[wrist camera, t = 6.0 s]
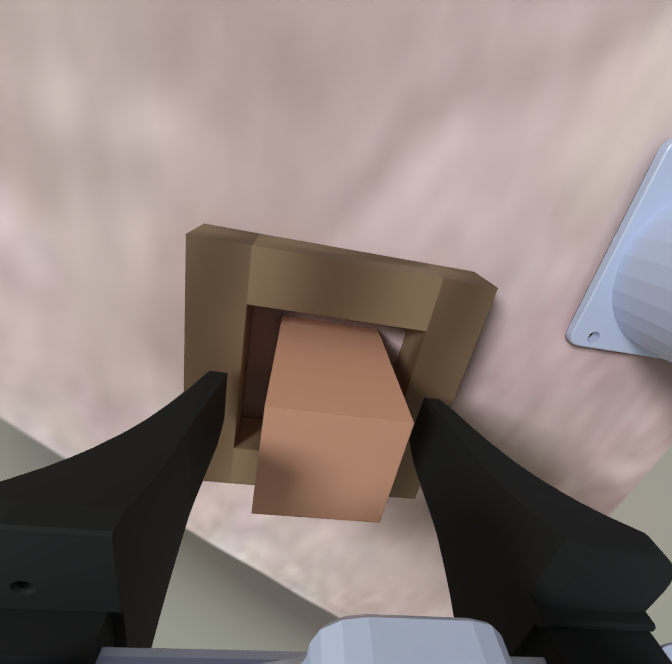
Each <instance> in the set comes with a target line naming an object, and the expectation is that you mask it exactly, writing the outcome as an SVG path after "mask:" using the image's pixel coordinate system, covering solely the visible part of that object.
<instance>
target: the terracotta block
mask: <svg viewBox="0 0 672 664" xmlns="http://www.w3.org/2000/svg"><path fill="white" fill-rule="evenodd" d="M413 425H414V422H413V419H412V417H411V414H410V412H409V409H408V406H407V404H406V401H405V399H404V396H403V393H402V391H401V388H400V386H399V383H398V381H397V378H396V375H395V373H394V370H393V368H392V365H391V363H390V360H389V357H388V355H387V352H386V350H385V347H384V344H383V342H382V339H381V337H380V334H379V332H378V329H372V328H366V327H359V326H352V325H345V324H338V323H331V322H324V321H317V320H311V319H304V318H297V317H290V316H283V315H282V320H281V325H280V330H279V336H278V341H277V346H276V351H275V356H274V361H273V366H272V372H271V377H270V382H269V387H268V392H267V397H266V402H265V408H264V416H263V424H262V432H261V440H260V449H259V457H258V465H257V473H256V481H255V489H254V497H253V505H252V513H253V514H267V515H281V516H295V517H308V518H322V519H336V520H350V521H364V522H378V523H380V520H381V517H382V514H383V511H384V508H385V505H386V503H387V500H388V497H389V494H390V491H391V488H392V485H393V482H394V479H395V477H396V474H397V471H398V468H399V465H400V462H401V459H402V456H403V454H404V451H405V448H406V445H407V442H408V439H409V436H410V433H411V430H412V428H413Z"/></svg>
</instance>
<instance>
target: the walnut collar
mask: <svg viewBox="0 0 672 664" xmlns="http://www.w3.org/2000/svg"><path fill="white" fill-rule="evenodd" d="M497 289H498V288H497V287H496V286H494V285H493V284H491V283H490V282H488V281H487V280H485V279H484V278H482V277H481V276H479V275H478V274H476V273H475V272H471V271H466V270H460V269H455V268H449V267H443V266H438V265H432V264H427V263H421V262H415V261H410V260H404V259H398V258H393V257H387V256H382V255H376V254H370V253H365V252H359V251H354V250H348V249H342V248H337V247H331V246H325V245H320V244H314V243H309V242H303V241H297V240H292V239H286V238H281V237H275V236H269V235H264V234H258V233H253V232H247V231H241V230H236V229H230V228H224V227H219V226H213V225H208V224H203V225H201V226H199V227H197V228H196V229H194V230H192V231H190V232H189V233H187V234H186V272H185V346H184V392H185V391H186V390H187V389H188V388H189V387H191V386H192V385H193V384H194V383H195V382H197V381H198V380H199V379H200V378H201V377H202V376H203V375H205V374H206V373H207V372H209V371H217V372H225V373H228V376H227V390H226V404H225V417H224V423H223V427H222V430H221V434H220V438H219V441H218V445H217V447H216V450H215V452H214V455H213V457H212V460H211V462H210V465H209V467H208V469H207V472H206V474H205V477H204V479H203V481H212V482H223V483H235V484H247V485H255V481H256V473H257V465H258V457H259V449H260V440H261V432H262V424H263V419H257V418H248V417H242V414H243V404H244V394H245V384H246V374H247V363H248V353H249V343H250V333H251V323H252V313H253V305H255V306H262V307H268V308H275V309H282V310H288V311H295V312H301V313H308V314H315V315H321V316H328V317H334V318H341V319H348V320H354V321H361V322H367V323H374V324H381V325H387V326H394V327H401V328H407V330H406V334H405V337H404V340H403V344H402V347H401V350H400V354H399V357H398V360H397V364H396V367H395V370H394V373H395V375H396V378H397V381H398V383H399V386H400V388H401V391H402V393H403V396H404V399H405V401H406V404H407V406H408V409H409V412H410V414H411V417H412V419H413V422H414V424H415V421H416V419H417V416H418V413H419V410H420V407H421V404H422V402H423V399H424V397H425V398H433V399H440V400H441V401H442V402H444V403H445V404H446V405H447V406H448V407H450V408H451V405H452V403H453V400H454V398H455V395H456V393H457V390H458V388H459V385H460V383H461V380H462V378H463V375H464V373H465V370H466V367H467V365H468V362H469V360H470V357H471V355H472V352H473V350H474V347H475V345H476V342H477V340H478V337H479V335H480V332H481V330H482V327H483V324H484V322H485V319H486V317H487V314H488V312H489V309H490V307H491V304H492V302H493V299H494V297H495V294H496V292H497ZM413 427H414V425H413ZM412 430H413V428H412ZM412 430H411V433H412ZM411 433H410V436H411ZM410 436H409V438H410ZM419 486H420V482H419V479H418V476H417V473H416V470H415V467H414V463H413V458H412V453H411V448H410V442H409V439H408V442H407V445H406V448H405V451H404V454H403V456H402V459H401V462H400V465H399V468H398V471H397V474H396V477H395V479H394V482H393V485H392V488H391V491H390V494H389V497H401V498H412V499H415V496H416V494H417V491H418V489H419Z"/></svg>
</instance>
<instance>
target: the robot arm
mask: <svg viewBox="0 0 672 664" xmlns="http://www.w3.org/2000/svg"><path fill="white" fill-rule="evenodd" d="M591 333H593V334H592V336H591V337H589V338H588V336H589V335H590V334H591ZM566 338H567V339H568V341H569V342H571V343H572V344H574V345H577V346H583V347H589V348H596V349H602V350H609V351H615V352H622V353H628V354H635V355H641V356H648V357H654V358H660V359H665V360H667V361H669V362H671V363H672V138H670V139H668V140H667V141H666V142H665V143H663V144H662V146H661V147H660V149H659V150H658V152H657V154H656V156H655V158H654V160H653V162H652V164H651V166H650V168H649V170H648V172H647V174H646V176H645V178H644V180H643V182H642V184H641V186H640V188H639V190H638V192H637V194H636V196H635V197H634V199H633V201H632V203H631V205H630V207H629V209H628V211H627V213H626V215H625V217H624V219H623V221H622V223H621V225H620V227H619V229H618V231H617V233H616V235H615V237H614V239H613V241H612V243H611V245H610V247H609V249H608V251H607V253H606V255H605V257H604V259H603V261H602V263H601V265H600V267H599V269H598V271H597V273H596V275H595V277H594V278H593V280H592V282H591V284H590V286H589V288H588V290H587V292H586V294H585V296H584V298H583V300H582V302H581V304H580V306H579V308H578V310H577V312H576V314H575V316H574V318H573V320H572V322H571V324H570V326H569V328H568V330H567V333H566ZM227 376H228V373H225V372H217V371H209V372H207V373H206V374H205V375H203V376H202V377H201V378H200V379H199V380H198V381H197V382H195V383H194V384H193V385H192V386H191V387H189V388H188V389H187V390H186V391H185V392H183V393H182V394H181V395H180V396H178V397H177V398H176V399H174V400H173V401H172V402H171V403H169V404H168V405H166V406H165V407H164V408H162V409H161V410H159V411H158V412H156V413H155V414H154V415H152V416H151V417H149V418H148V419H146V420H145V421H143V422H141V423H140V424H138V425H136V426H135V427H133V428H131V429H129V430H128V431H126V432H124V433H122V434H120V435H118V436H116V437H114V438H112V439H110V440H108V441H106V442H104V443H102V444H100V445H98V446H96V447H94V448H91V449H89V450H87V451H85V452H82V453H80V454H77V455H75V456H73V457H70V458H68V459H65V460H62V461H60V462H57V463H55V464H52V465H49V466H47V467H44V468H41V469H38V470H35V471H32V472H29V473H26V474H23V475H20V476H16V477H13V478H10V479H7V480H4V481H1V482H0V664H672V643H667V644H664V645H662V646H660V645H659V644H658V642H657V641H656V640H655V638H654V637H653V635H652V634H651V633H650V631H654V629H655V624H654V622H653V621H652V620H651V619H650V617H649V616H648V614H647V613H646V612H645V611H646V610H647V609H648V608H649V607H650V606H651V605H652V604H653V603H654V602H655V600H657V599H658V597H659V596H660V595H661V594H662V593H663V592H664V591H665V590H666V588H667V587H668V586H669V585H670V583H671V581H672V563H671V562H670V560H669V559H668V558H667V557H666V556H665V555H664V554H663V552H662V551H661V550H660V549H659V548H658V547H657V546H656V544H655V543H654V542H653V541H652V540H651V539H650V538H649V536H647V535H646V534H645V533H643V532H641V531H639V530H637V529H634V528H632V527H630V526H628V525H625V524H623V523H621V522H619V521H617V520H614V519H612V518H610V517H608V516H606V515H604V514H602V513H600V512H598V511H596V510H594V509H592V508H590V507H588V506H586V505H584V504H582V503H580V502H578V501H577V500H575V499H573V498H571V497H569V496H567V495H566V494H564V493H562V492H561V491H559V490H557V489H556V488H554V487H552V486H551V485H549V484H547V483H546V482H544V481H542V480H541V479H539V478H538V477H536V476H534V475H533V474H531V473H530V472H529V471H527V470H526V469H524V468H523V467H521V466H520V465H518V464H517V463H516V462H514V461H513V460H512V459H510V458H509V457H507V456H506V455H505V454H504V453H502V452H501V451H500V450H499V449H497V448H496V447H495V446H494V445H492V444H491V443H490V442H489V441H487V440H486V439H485V438H484V437H483V436H481V435H480V434H479V433H478V432H477V431H476V430H475V429H473V428H472V427H471V426H470V425H469V424H468V423H467V422H465V421H464V420H463V419H462V418H461V417H460V416H459V415H458V414H457V413H455V412H454V411H453V410H452V409H451V408H450V407H448V406H447V405H446V404H445V403H444V402H442V401H441V400H440V399H433V398H425V397H424V399H423V402H422V404H421V407H420V410H419V413H418V416H417V419H416V421H415V424H414V427H413V430H412V433H411V436H410V438H409V442H410V448H411V453H412V458H413V463H414V467H415V470H416V473H417V476H418V479H419V482H420V485H421V488H422V491H423V493H424V496H425V499H426V502H427V505H428V508H429V511H430V514H431V517H432V520H433V523H434V526H435V530H436V533H437V537H438V541H439V545H440V550H441V554H442V558H443V563H444V568H445V572H446V577H447V582H448V587H449V592H450V597H451V603H452V609H453V614H454V617H428V616H402V615H376V614H363V615H354V616H345V617H342V618H339V619H337V620H335V621H333V622H330V623H328V624H326V625H324V626H323V627H322V629H321V630H320V631H319V632H318V633H317V635H316V636H315V637H314V638H313V640H312V641H311V642H310V645H309V648H308V652H294V651H293V652H292V651H251V650H210V649H208V650H207V649H205V650H204V649H166V648H151V647H152V643H153V640H154V636H155V632H156V629H157V625H158V621H159V617H160V614H161V610H162V606H163V603H164V599H165V596H166V592H167V588H168V585H169V581H170V578H171V575H172V571H173V568H174V564H175V561H176V557H177V554H178V551H179V547H180V544H181V540H182V537H183V534H184V531H185V527H186V524H187V521H188V517H189V514H190V512H191V509H192V506H193V503H194V501H195V498H196V496H197V494H198V491H199V489H200V486H201V484H202V482H203V479H204V477H205V474H206V472H207V469H208V467H209V465H210V462H211V460H212V457H213V455H214V452H215V450H216V447H217V445H218V441H219V438H220V434H221V430H222V427H223V423H224V417H225V404H226V390H227Z"/></svg>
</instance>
